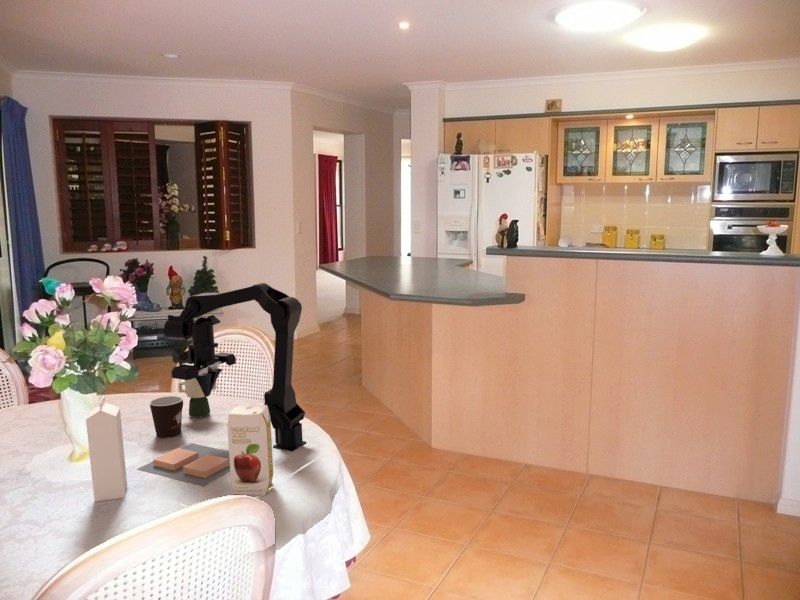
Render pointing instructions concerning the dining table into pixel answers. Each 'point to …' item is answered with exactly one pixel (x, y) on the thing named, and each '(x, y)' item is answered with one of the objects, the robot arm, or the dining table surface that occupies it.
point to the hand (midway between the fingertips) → (207, 396)
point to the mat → (188, 478)
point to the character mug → (195, 398)
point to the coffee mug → (167, 416)
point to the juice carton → (250, 449)
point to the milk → (106, 452)
